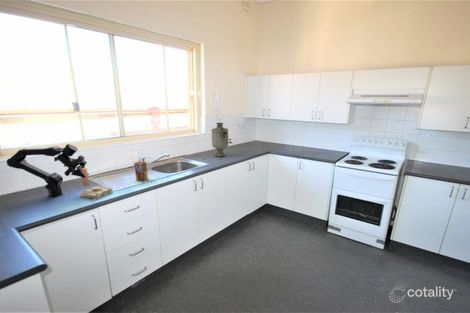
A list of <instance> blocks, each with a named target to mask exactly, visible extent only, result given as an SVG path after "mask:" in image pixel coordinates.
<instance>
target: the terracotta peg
mask: <svg viewBox="0 0 470 313" xmlns="http://www.w3.org/2000/svg"><path fill="white" fill-rule="evenodd" d="M80 172H81V173H83V174H84V175H85V178H83V177H80V178H81V185H82V187H87V186H89V185H90V182H89V175H88V174H89V172H88V168H87V167H85V168H81V169H80Z"/></svg>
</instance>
